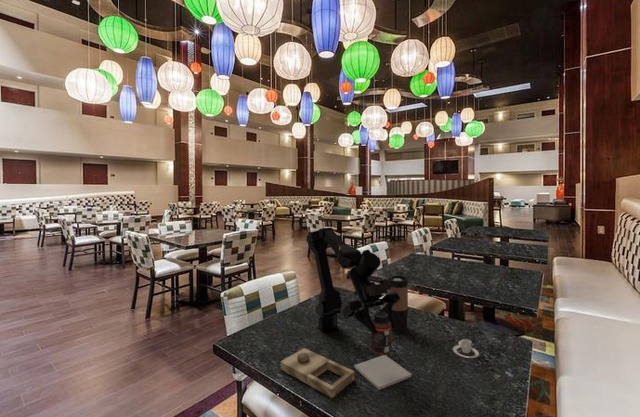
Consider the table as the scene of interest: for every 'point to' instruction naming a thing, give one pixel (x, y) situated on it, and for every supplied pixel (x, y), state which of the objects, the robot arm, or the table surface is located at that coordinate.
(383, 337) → the supplement bottle
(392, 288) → the travel mug
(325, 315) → the robot arm
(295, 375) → the sliding-lid wooden box
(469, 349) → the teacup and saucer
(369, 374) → the grey pad
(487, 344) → the table surface
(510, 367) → the table surface
